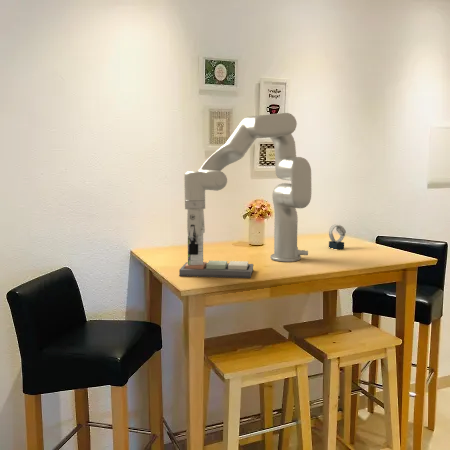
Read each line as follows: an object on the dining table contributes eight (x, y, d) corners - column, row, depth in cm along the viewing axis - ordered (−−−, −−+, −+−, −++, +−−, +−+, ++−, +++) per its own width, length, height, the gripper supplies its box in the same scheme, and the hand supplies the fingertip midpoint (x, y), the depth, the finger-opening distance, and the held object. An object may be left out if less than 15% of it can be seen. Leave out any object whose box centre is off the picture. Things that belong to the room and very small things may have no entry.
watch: (347, 248, 228) (348, 225, 227) (333, 250, 224) (334, 226, 223) (339, 246, 233) (339, 223, 231) (325, 248, 229) (326, 224, 228)
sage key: (227, 264, 188) (227, 261, 188) (224, 269, 181) (224, 265, 181) (209, 264, 189) (209, 260, 188) (206, 268, 182) (206, 264, 182)
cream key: (248, 265, 187) (248, 261, 187) (246, 269, 180) (246, 265, 180) (230, 264, 188) (230, 261, 187) (228, 269, 181) (228, 265, 181)
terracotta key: (206, 265, 189) (206, 261, 189) (203, 270, 182) (203, 266, 182) (188, 265, 190) (188, 261, 190) (185, 269, 183) (185, 265, 183)
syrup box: (187, 262, 188) (187, 224, 186) (203, 261, 189) (202, 224, 187) (187, 265, 183) (187, 226, 181) (203, 265, 183) (203, 226, 181)
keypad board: (253, 270, 189) (253, 263, 189) (250, 278, 178) (250, 271, 177) (186, 268, 193) (186, 262, 193) (179, 276, 181) (179, 269, 181)
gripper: (200, 207, 173) (201, 257, 176) (209, 202, 190) (209, 248, 193) (179, 207, 174) (180, 257, 177) (189, 202, 191) (190, 247, 194)
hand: (195, 252), depth 185 cm, fingers closed on syrup box, 6 cm apart
